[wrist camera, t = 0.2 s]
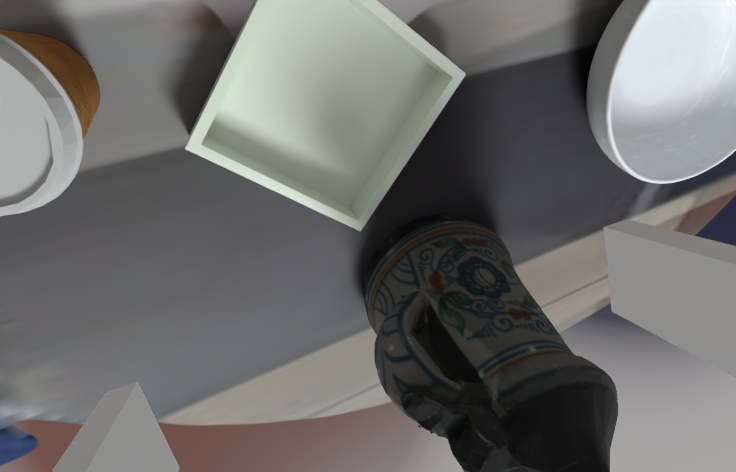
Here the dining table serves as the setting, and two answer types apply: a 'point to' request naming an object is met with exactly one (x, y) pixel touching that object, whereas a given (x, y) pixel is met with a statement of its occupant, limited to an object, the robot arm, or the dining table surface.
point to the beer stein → (482, 354)
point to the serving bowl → (666, 87)
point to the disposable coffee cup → (41, 118)
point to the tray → (324, 103)
